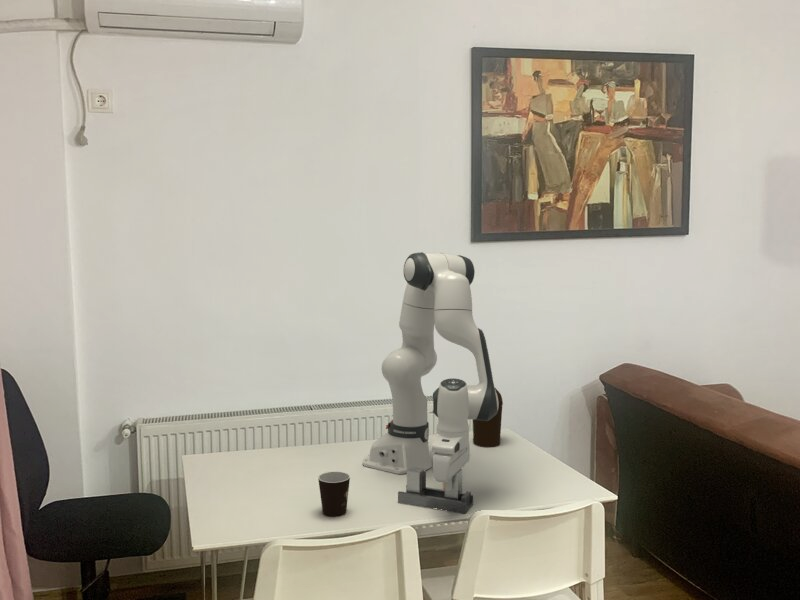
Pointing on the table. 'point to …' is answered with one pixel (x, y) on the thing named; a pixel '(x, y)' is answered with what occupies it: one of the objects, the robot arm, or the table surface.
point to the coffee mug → (334, 493)
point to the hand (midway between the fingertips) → (452, 487)
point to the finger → (455, 487)
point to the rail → (431, 494)
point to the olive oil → (488, 428)
